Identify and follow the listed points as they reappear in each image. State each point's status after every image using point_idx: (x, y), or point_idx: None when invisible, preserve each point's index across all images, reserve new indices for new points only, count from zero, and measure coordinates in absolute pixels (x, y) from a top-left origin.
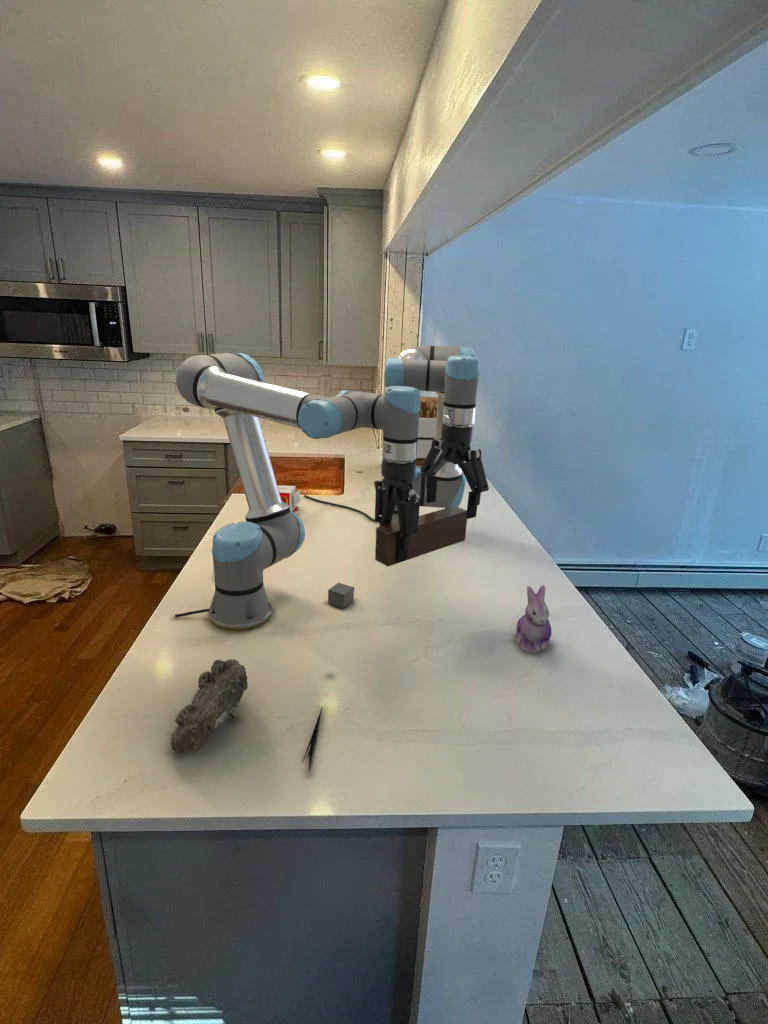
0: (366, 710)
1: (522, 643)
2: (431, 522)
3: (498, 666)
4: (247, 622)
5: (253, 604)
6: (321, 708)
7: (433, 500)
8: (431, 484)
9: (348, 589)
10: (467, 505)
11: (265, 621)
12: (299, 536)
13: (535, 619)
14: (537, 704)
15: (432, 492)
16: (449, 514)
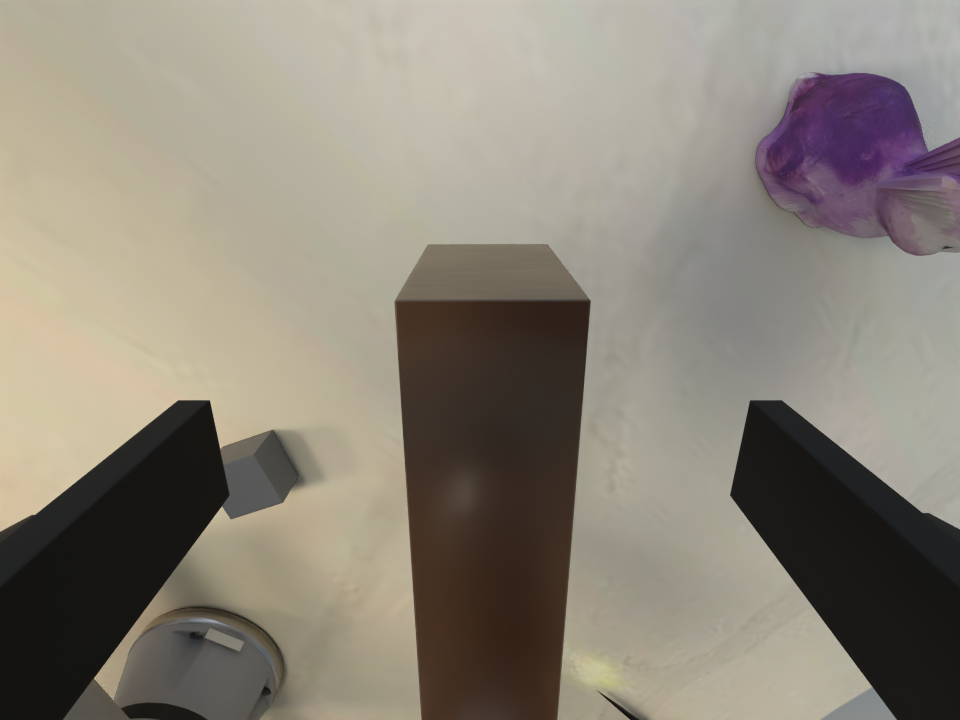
0: (656, 641)
1: (814, 222)
2: (559, 683)
3: (787, 346)
4: (274, 692)
5: (246, 713)
6: (602, 694)
7: (208, 439)
8: (90, 642)
9: (259, 475)
10: (803, 593)
11: (270, 643)
12: None
13: (946, 250)
14: (934, 390)
15: (157, 521)
16: (543, 509)
